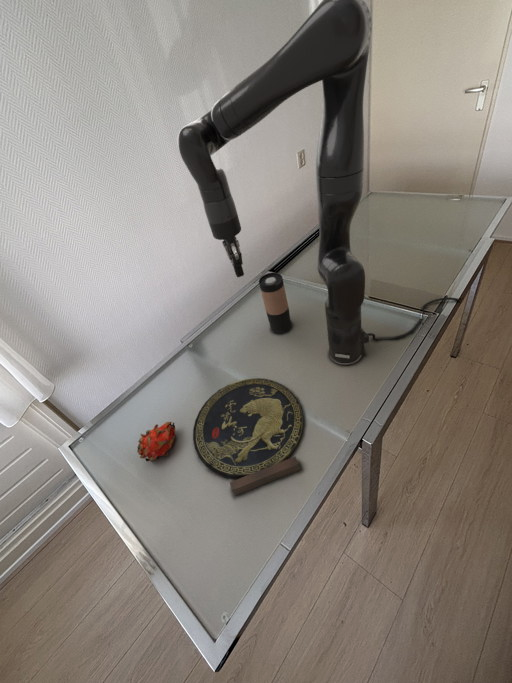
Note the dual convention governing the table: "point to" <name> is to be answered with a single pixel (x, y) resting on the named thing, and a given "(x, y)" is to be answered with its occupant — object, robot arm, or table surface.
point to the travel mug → (275, 302)
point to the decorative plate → (247, 427)
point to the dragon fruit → (156, 441)
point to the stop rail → (264, 476)
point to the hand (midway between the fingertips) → (240, 275)
